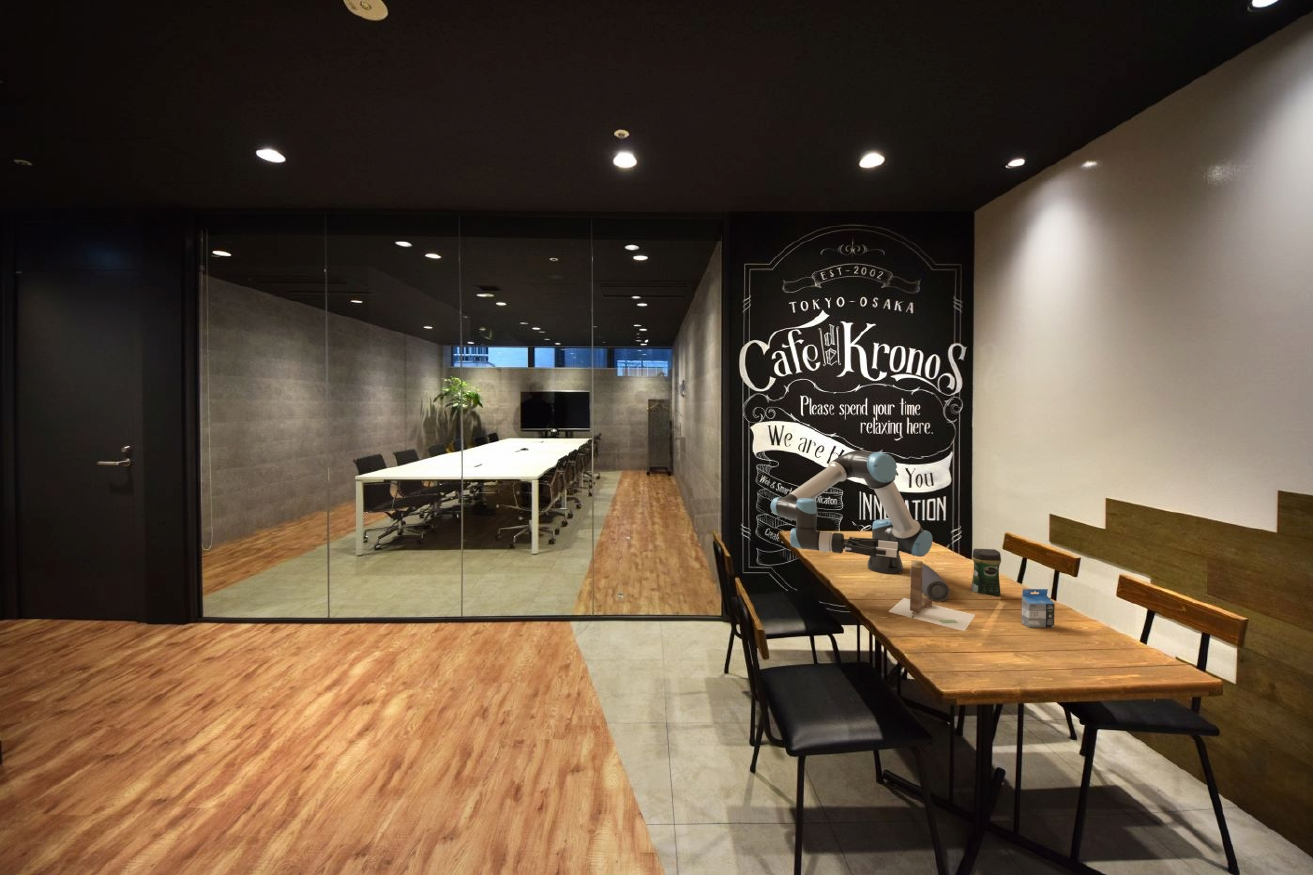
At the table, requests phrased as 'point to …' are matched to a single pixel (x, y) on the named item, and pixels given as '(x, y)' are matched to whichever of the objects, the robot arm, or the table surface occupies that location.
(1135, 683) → the table surface
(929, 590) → the bluetooth speaker
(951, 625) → the white flat sheet
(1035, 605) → the label tape box
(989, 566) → the coffee jar
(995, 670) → the table surface
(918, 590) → the wooden l-shaped block
